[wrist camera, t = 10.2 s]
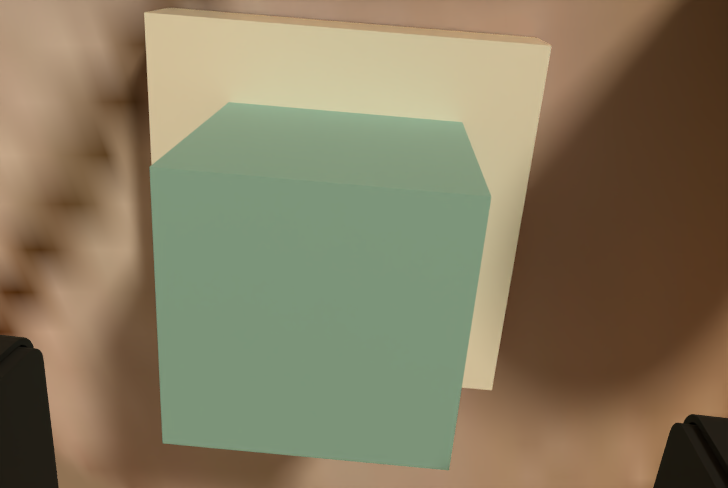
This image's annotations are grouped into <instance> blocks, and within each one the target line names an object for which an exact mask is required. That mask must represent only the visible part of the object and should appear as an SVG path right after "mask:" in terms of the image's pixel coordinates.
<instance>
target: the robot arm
mask: <svg viewBox="0 0 728 488" xmlns="http://www.w3.org/2000/svg"><path fill="white" fill-rule="evenodd" d="M0 488H58V479H57V471H56V462H55V453H54V445H53V437H52V428H51V420H50V411H49V403H48V394H47V386H46V377H45V369H44V360H43V355H42V353H41V351H40V350H38V349H35V348H33V344H32V343H31V341H30V340H29V339H27V338H24V337H15V336H6V335H0ZM653 488H728V418H721V417H712V416H703V415H695V414H692V415H689V416H688V417H687V418H686V419H685V421H684V423H675V424H674V425H673V426H672V428H671V430H670V433H669V436H668V440H667V443H666V447H665V450H664V453H663V457H662V460H661V464H660V467H659V470H658V474H657V477H656V481H655V484H654V487H653Z"/></svg>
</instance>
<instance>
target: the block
mask: <svg viewBox="0 0 728 488" xmlns="http://www.w3.org/2000/svg"><path fill="white" fill-rule="evenodd" d="M150 187H151V208H152V230H153V251H154V272H155V293H156V315H157V336H158V357H159V378H160V400H161V421H162V442H163V443H164V444H175V445H185V446H196V447H207V448H217V449H228V450H239V451H249V452H260V453H271V454H281V455H292V456H302V457H313V458H324V459H334V460H345V461H356V462H366V463H377V464H388V465H398V466H409V467H419V468H430V469H441V470H449V466H450V460H451V453H452V447H453V441H454V434H455V428H456V421H457V415H458V408H459V402H460V396H461V389H462V383H463V376H464V370H465V363H466V357H467V351H468V344H469V338H470V331H471V325H472V318H473V312H474V306H475V299H476V293H477V286H478V280H479V273H480V267H481V261H482V254H483V248H484V241H485V235H486V228H487V222H488V216H489V209H490V203H491V194H490V192H489V189H488V187H487V184H486V182H485V179H484V176H483V174H482V171H481V169H480V166H479V164H478V161H477V158H476V156H475V153H474V151H473V148H472V146H471V143H470V141H469V138H468V135H467V133H466V130H465V128H464V125H463V123H462V122H455V121H443V120H431V119H420V118H408V117H396V116H385V115H373V114H361V113H350V112H338V111H326V110H315V109H303V108H291V107H280V106H268V105H256V104H245V103H233V102H228V103H227V104H226V105H225V106H224V107H222V108H221V109H220V110H219V111H217V112H216V113H215V114H214V115H213V116H211V117H210V118H209V119H208V120H206V121H205V122H204V123H203V124H201V125H200V126H199V127H198V128H197V129H195V130H194V131H193V132H192V133H190V134H189V135H188V136H187V137H186V138H184V139H183V140H182V141H181V142H179V143H178V144H177V145H176V146H175V147H173V148H172V149H171V150H170V151H168V152H167V153H166V154H165V155H163V156H162V157H161V158H160V159H159V160H157V161H156V162H155V163H154V164H152V165H151V166H150Z"/></svg>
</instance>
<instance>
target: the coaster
mask: <svg viewBox="0 0 728 488" xmlns="http://www.w3.org/2000/svg"><path fill="white" fill-rule="evenodd" d="M144 18H145V39H146V59H147V80H148V101H149V122H150V143H151V164H154V163H155V162H156V161H157V160H159V159H160V158H161V157H162V156H163V155H165V154H166V153H167V152H168V151H170V150H171V149H172V148H173V147H175V146H176V145H177V144H178V143H179V142H181V141H182V140H183V139H184V138H186V137H187V136H188V135H189V134H190V133H192V132H193V131H194V130H195V129H197V128H198V127H199V126H200V125H201V124H203V123H204V122H205V121H206V120H208V119H209V118H210V117H211V116H213V115H214V114H215V113H216V112H217V111H219V110H220V109H221V108H222V107H224V106H225V105H226V104H227V103H228V102H233V103H245V104H256V105H268V106H280V107H291V108H303V109H315V110H326V111H338V112H350V113H361V114H373V115H385V116H396V117H408V118H420V119H431V120H443V121H455V122H462V123H463V125H464V128H465V130H466V133H467V135H468V138H469V141H470V143H471V146H472V148H473V151H474V153H475V156H476V158H477V161H478V164H479V166H480V169H481V171H482V174H483V176H484V179H485V182H486V184H487V187H488V189H489V192H490V194H491V203H490V209H489V216H488V222H487V228H486V235H485V241H484V248H483V254H482V261H481V267H480V273H479V280H478V286H477V293H476V299H475V306H474V312H473V318H472V325H471V331H470V338H469V344H468V351H467V357H466V363H465V370H464V376H463V383H462V388H472V389H483V390H492V386H493V380H494V375H495V369H496V363H497V357H498V352H499V346H500V340H501V334H502V329H503V323H504V317H505V311H506V306H507V300H508V294H509V288H510V282H511V277H512V271H513V265H514V259H515V254H516V248H517V242H518V236H519V231H520V225H521V219H522V213H523V208H524V202H525V196H526V190H527V185H528V179H529V173H530V167H531V161H532V156H533V150H534V144H535V138H536V133H537V127H538V121H539V115H540V110H541V104H542V98H543V92H544V87H545V81H546V75H547V69H548V63H549V58H550V52H551V45H549V44H548V43H546V42H544V41H542V40H540V39H538V38H537V37H525V36H513V35H501V34H488V33H476V32H464V31H452V30H439V29H427V28H415V27H402V26H390V25H378V24H366V23H353V22H341V21H329V20H316V19H304V18H292V17H280V16H267V15H255V14H243V13H230V12H218V11H206V10H194V9H181V8H165V9H160V10H155V11H149V12H144Z"/></svg>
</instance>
